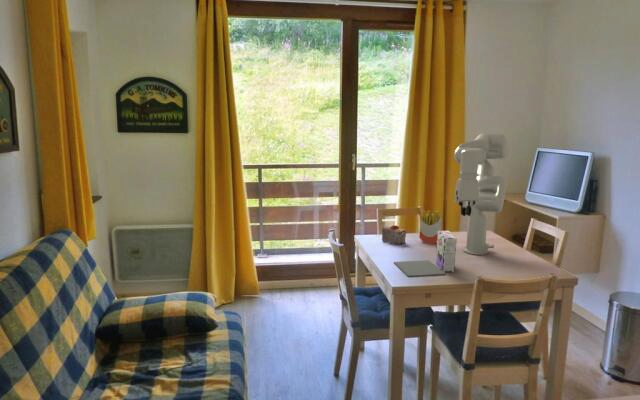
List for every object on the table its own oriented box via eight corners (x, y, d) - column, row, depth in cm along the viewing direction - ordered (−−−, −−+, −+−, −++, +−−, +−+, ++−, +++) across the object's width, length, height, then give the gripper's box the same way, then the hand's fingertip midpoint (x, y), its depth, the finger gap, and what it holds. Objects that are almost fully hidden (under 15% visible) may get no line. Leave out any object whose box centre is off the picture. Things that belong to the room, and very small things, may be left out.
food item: (408, 243, 269) (408, 226, 268) (399, 246, 264) (400, 228, 262) (388, 239, 279) (388, 222, 277) (379, 241, 273) (380, 224, 271)
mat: (428, 261, 237) (428, 260, 237) (445, 274, 218) (445, 273, 218) (393, 263, 234) (393, 261, 234) (407, 276, 215) (407, 275, 215)
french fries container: (437, 244, 267) (438, 213, 263) (418, 241, 273) (420, 210, 269) (440, 243, 270) (441, 211, 267) (422, 240, 276) (423, 209, 273)
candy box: (435, 262, 235) (437, 230, 232) (447, 263, 235) (449, 230, 232) (442, 272, 221) (444, 237, 218) (455, 272, 221) (457, 237, 218)
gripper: (480, 175, 227) (477, 213, 230) (448, 175, 224) (446, 214, 227) (488, 177, 219) (485, 216, 223) (455, 177, 217) (453, 217, 220)
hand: (465, 215), depth 225 cm, fingers closed
